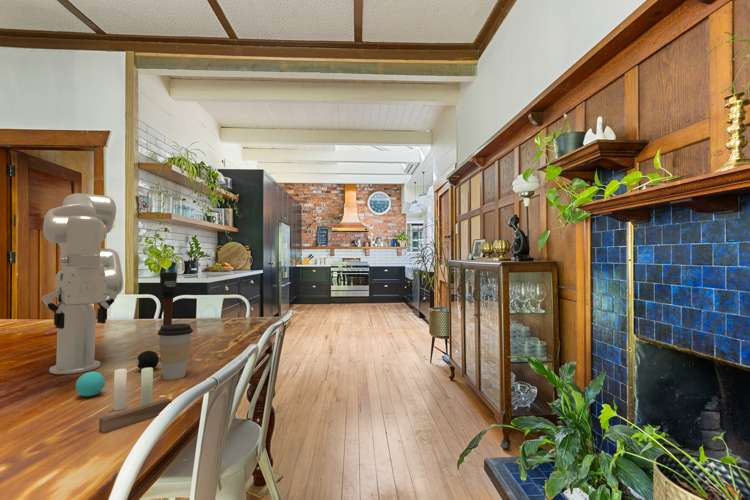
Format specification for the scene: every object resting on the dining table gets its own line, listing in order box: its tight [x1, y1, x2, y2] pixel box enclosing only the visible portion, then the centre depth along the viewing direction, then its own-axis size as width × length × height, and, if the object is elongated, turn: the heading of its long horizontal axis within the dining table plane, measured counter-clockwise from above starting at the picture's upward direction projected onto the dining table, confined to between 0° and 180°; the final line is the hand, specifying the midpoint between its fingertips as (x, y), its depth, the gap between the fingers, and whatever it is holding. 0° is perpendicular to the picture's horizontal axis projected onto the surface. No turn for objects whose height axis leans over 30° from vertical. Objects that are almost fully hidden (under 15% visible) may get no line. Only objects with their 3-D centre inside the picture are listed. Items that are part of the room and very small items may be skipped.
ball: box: [75, 371, 106, 397], centre depth 100 cm, size 6×6×6 cm
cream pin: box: [112, 368, 128, 412], centre depth 92 cm, size 2×2×9 cm
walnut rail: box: [98, 397, 173, 434], centre depth 86 cm, size 2×14×2 cm, turn 148°
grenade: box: [158, 271, 178, 326], centre depth 135 cm, size 6×6×30 cm
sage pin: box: [139, 367, 154, 406], centre depth 93 cm, size 2×2×9 cm
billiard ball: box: [135, 350, 160, 371], centre depth 123 cm, size 6×6×6 cm
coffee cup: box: [157, 323, 194, 381], centre depth 117 cm, size 9×9×15 cm
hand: (81, 325), depth 106 cm, fingers open, 9 cm apart
